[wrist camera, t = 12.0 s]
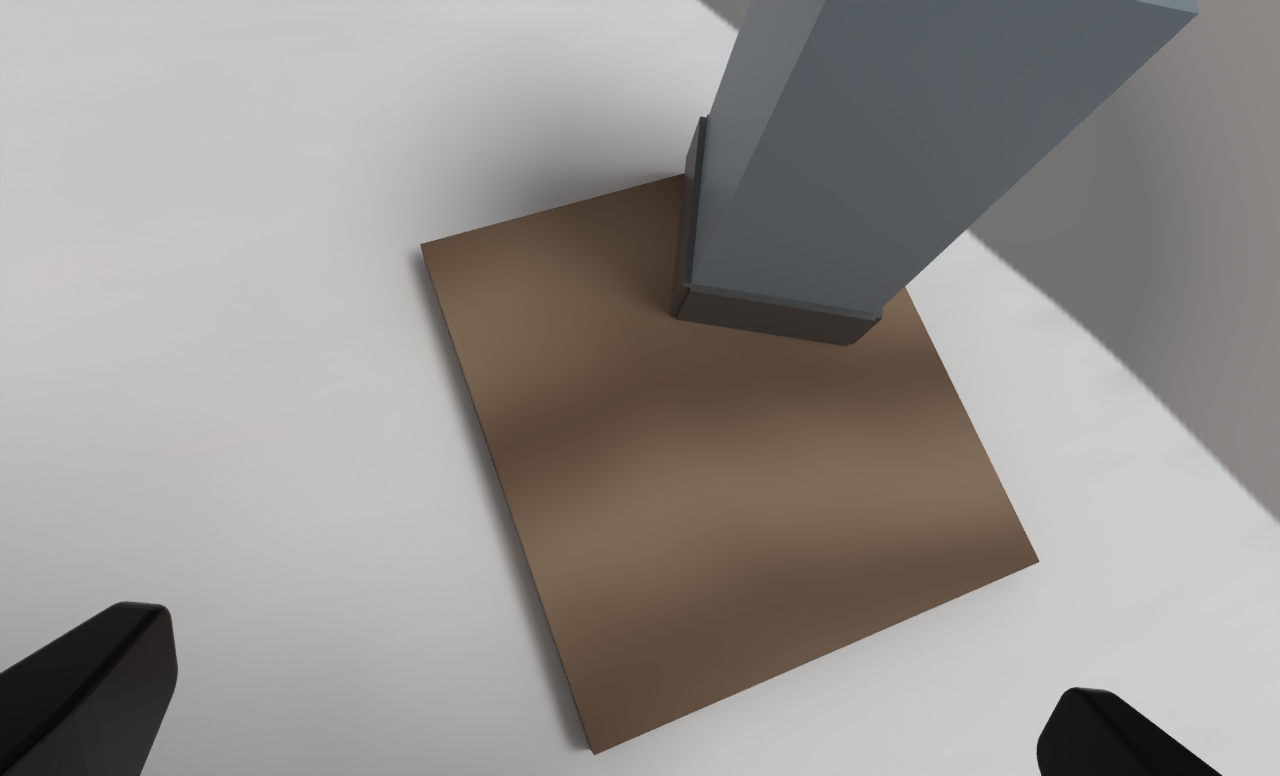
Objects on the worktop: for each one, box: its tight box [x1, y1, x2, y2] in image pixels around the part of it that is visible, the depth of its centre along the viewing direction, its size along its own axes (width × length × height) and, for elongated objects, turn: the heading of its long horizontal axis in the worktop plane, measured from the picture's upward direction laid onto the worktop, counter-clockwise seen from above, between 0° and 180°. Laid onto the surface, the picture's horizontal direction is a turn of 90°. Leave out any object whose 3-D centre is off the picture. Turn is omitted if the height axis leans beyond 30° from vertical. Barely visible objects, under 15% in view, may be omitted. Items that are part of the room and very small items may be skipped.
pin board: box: [420, 173, 1039, 755], centre depth 21 cm, size 14×13×5 cm
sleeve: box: [670, 0, 1198, 346], centre depth 18 cm, size 5×5×13 cm
